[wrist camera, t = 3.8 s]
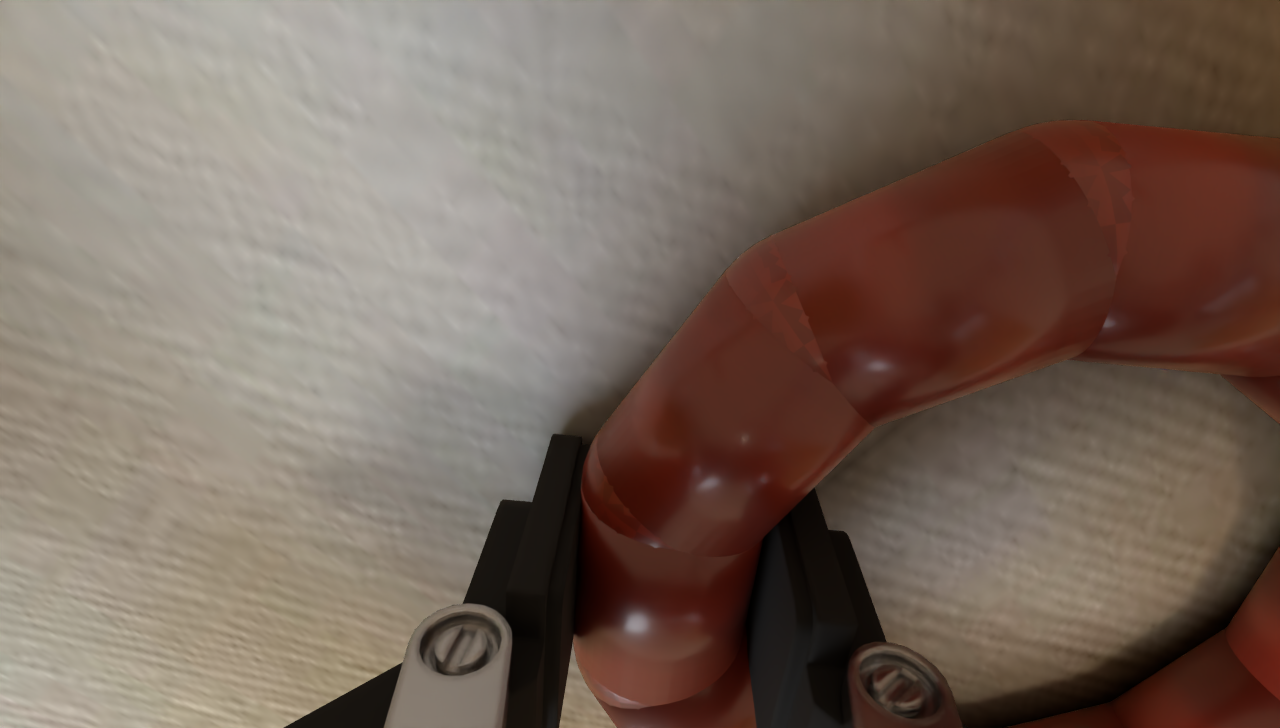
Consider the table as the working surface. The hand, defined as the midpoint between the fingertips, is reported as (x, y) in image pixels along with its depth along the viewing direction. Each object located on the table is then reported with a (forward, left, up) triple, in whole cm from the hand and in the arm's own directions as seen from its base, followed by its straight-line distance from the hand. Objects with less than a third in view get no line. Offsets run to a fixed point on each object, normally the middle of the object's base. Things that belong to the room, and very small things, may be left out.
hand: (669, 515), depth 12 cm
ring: (-6, 0, +1) cm, 6 cm away
